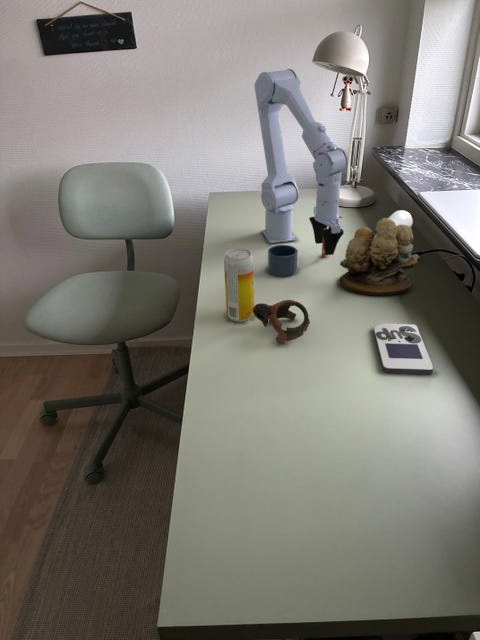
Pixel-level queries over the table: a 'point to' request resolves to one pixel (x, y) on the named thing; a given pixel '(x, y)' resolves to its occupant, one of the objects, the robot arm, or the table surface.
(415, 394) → the table surface
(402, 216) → the white rounded cylinder
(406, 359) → the handheld game console
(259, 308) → the brown knobby curled ring
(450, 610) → the table surface
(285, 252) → the cup
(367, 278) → the owl figurine
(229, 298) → the beer can
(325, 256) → the baton
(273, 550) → the table surface
